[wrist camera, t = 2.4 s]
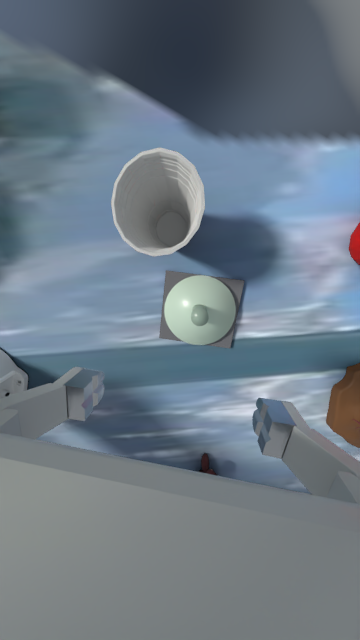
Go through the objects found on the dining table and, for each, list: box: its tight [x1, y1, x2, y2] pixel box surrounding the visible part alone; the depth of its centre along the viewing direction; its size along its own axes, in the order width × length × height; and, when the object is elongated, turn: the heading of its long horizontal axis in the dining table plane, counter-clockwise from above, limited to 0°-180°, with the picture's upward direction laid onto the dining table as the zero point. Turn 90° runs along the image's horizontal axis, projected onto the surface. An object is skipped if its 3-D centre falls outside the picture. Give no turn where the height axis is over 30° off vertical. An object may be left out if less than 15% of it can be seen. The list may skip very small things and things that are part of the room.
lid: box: [164, 275, 236, 345], centre depth 31 cm, size 13×13×5 cm
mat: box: [159, 271, 244, 348], centre depth 34 cm, size 13×14×1 cm
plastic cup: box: [111, 148, 205, 256], centre depth 26 cm, size 11×11×12 cm
